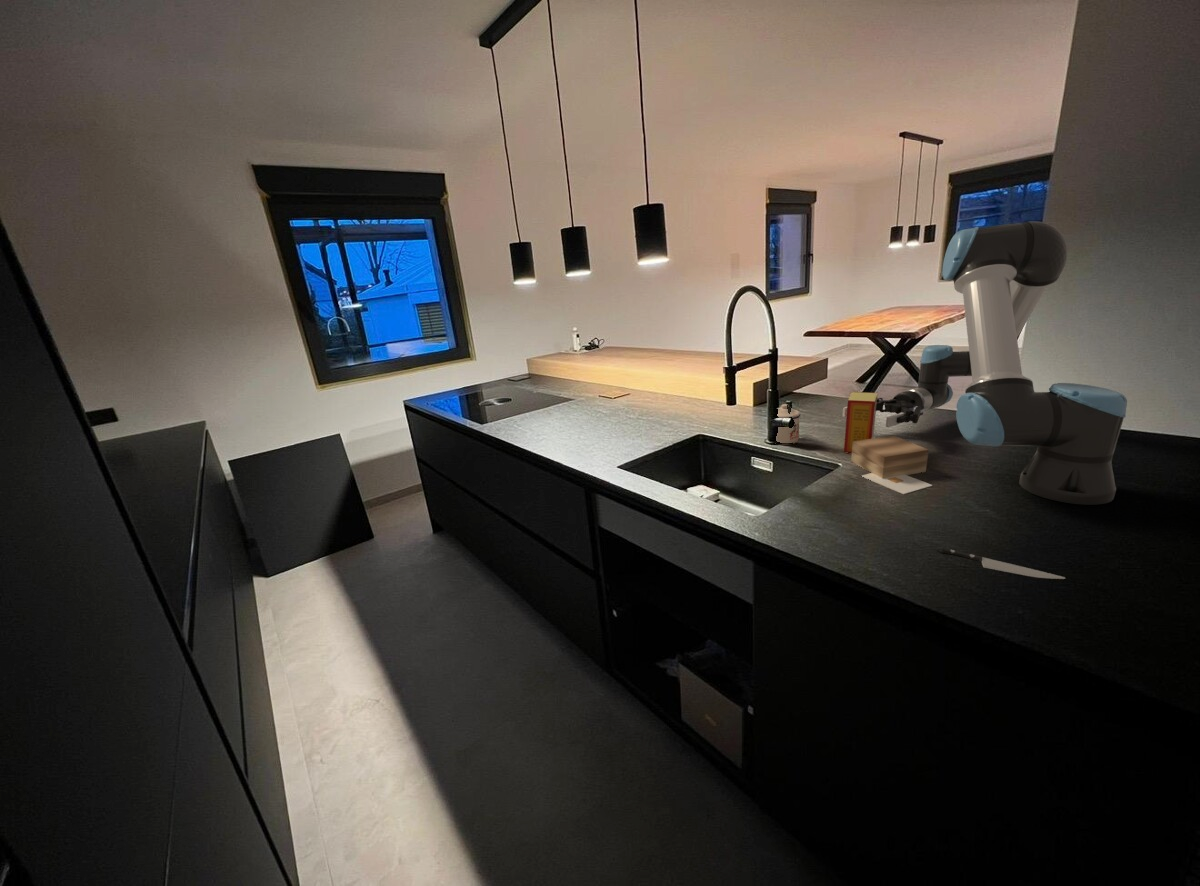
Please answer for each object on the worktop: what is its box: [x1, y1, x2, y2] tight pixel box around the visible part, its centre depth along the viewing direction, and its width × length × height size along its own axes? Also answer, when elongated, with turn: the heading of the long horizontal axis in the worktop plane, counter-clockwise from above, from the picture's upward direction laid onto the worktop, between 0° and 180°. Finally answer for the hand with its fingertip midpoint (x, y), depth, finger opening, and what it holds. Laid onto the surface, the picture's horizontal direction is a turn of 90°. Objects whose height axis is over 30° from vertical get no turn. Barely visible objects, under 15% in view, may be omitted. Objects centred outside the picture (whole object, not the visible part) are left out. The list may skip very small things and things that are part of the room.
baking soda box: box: [843, 391, 879, 454], centre depth 135 cm, size 10×6×16 cm
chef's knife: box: [935, 546, 1066, 580], centre depth 82 cm, size 19×1×3 cm
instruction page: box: [861, 472, 933, 495], centre depth 116 cm, size 12×9×1 cm
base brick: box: [850, 434, 930, 478], centre depth 123 cm, size 12×12×6 cm
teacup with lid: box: [776, 403, 801, 443], centre depth 149 cm, size 12×9×12 cm
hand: (864, 417), depth 136 cm, fingers open, 13 cm apart
